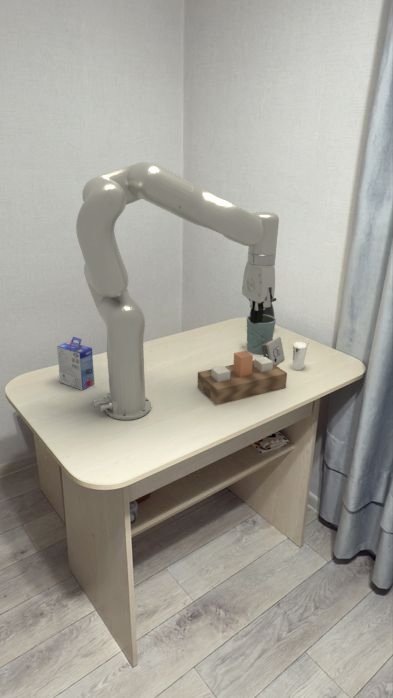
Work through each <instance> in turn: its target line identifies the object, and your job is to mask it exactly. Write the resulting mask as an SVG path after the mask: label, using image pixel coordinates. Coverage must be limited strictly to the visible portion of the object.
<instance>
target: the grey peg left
mask: <svg viewBox="0 0 393 698" xmlns="http://www.w3.org/2000/svg"><path fill="white" fill-rule="evenodd" d="M211 369H212V371H211V377H212V378H213V379H214V380H215V381H217V382H221V381H226V380H230V371H229V370H228V369H227V368H225V367H224V365H222V366H221V365H220V366H218V367H217V366H216V367H212V368H211Z"/></svg>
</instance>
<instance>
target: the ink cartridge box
mask: <svg viewBox="0 0 393 698" xmlns="http://www.w3.org/2000/svg"><path fill="white" fill-rule="evenodd" d="M74 341H77V342H78V343H77V342H74ZM56 350H57V361H58V362H57V363H58V373H59V382H60V383H61V384H64V385H68V386H70V387H72V388H76V389H78V390H82V391H83V390H85V389H87V388H89V387H92V386H94V385H95V372H94V360H93V359H94V358H93V347H90V346H87V345H84V344H82V338H79V337H75V336H72V339H71V340H70V341H67V342H63V343H62V344H59V345H57V346H56Z"/></svg>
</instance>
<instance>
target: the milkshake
mask: <svg viewBox="0 0 393 698" xmlns="http://www.w3.org/2000/svg"><path fill="white" fill-rule="evenodd" d="M308 345H309V343H305V342H304V341H296V342H294V343H293V345H292V369H293V370H295V371H303V368H304V365H305V360H306V359H305V358H306V355H307V351H308Z"/></svg>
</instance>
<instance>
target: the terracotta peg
mask: <svg viewBox="0 0 393 698" xmlns="http://www.w3.org/2000/svg"><path fill="white" fill-rule="evenodd" d="M253 355H254V354H252V353H250V352H249V351H248V350H243V351H238V352H234V353H233V365H234V366H233V372H234V373H235V374H236V375H238V376H239V377H243V376H248V375H252V362H253V360H254V356H253Z"/></svg>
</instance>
